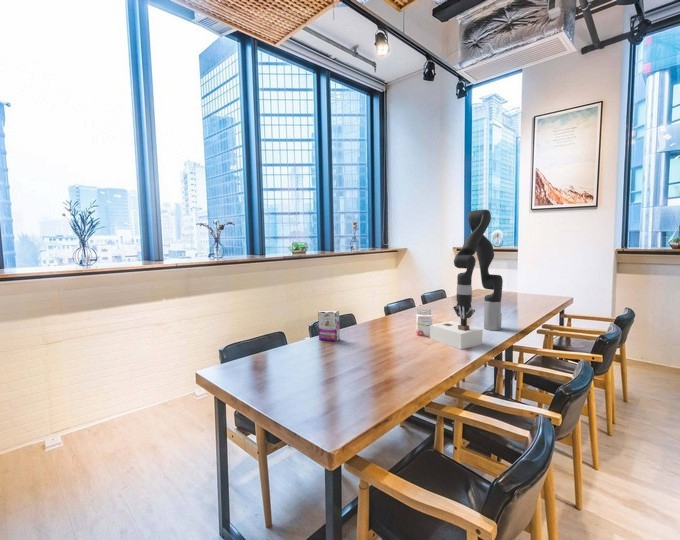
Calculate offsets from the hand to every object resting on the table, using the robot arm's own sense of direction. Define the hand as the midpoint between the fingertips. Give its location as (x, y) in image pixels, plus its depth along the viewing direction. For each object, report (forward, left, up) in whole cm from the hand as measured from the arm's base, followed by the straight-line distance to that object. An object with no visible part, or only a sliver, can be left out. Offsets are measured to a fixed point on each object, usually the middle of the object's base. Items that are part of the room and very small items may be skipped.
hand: (463, 325), depth 186 cm
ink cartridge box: (+5, -25, -10) cm, 27 cm away
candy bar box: (+56, -47, -10) cm, 73 cm away
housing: (0, -6, -10) cm, 11 cm away
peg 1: (0, -11, -9) cm, 14 cm away
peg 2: (0, 0, -7) cm, 7 cm away
